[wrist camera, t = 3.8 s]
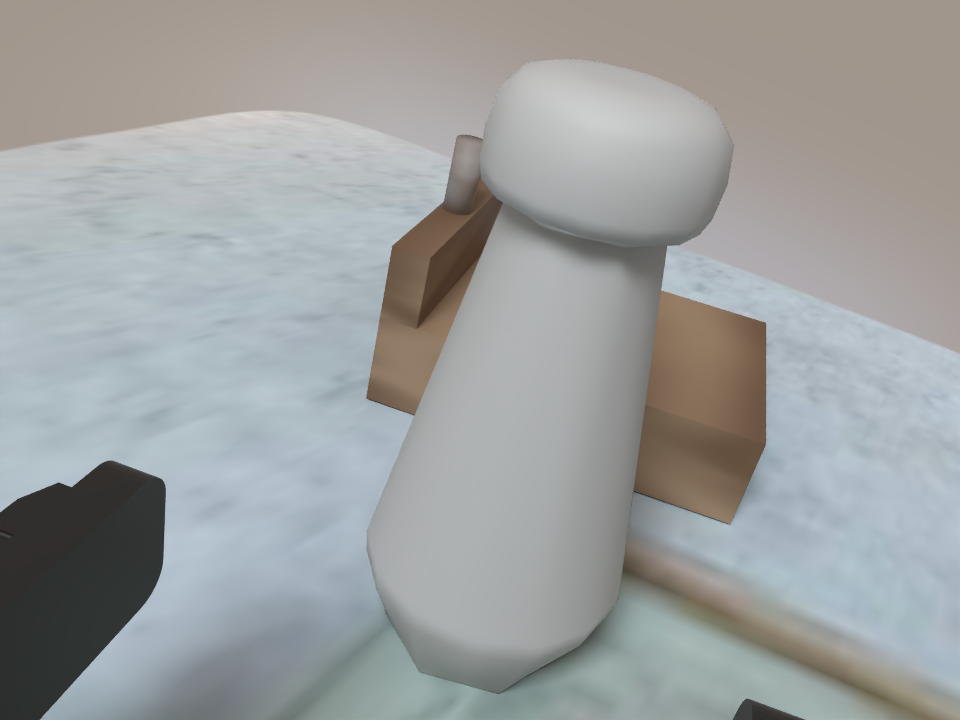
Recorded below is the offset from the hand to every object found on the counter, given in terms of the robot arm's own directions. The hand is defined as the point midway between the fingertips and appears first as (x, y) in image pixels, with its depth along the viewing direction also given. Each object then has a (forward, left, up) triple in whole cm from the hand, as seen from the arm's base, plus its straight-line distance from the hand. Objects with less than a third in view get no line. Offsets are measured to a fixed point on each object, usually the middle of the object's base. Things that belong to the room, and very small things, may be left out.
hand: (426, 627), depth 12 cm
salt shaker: (0, -7, -7) cm, 10 cm away
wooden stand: (0, -19, -7) cm, 21 cm away
